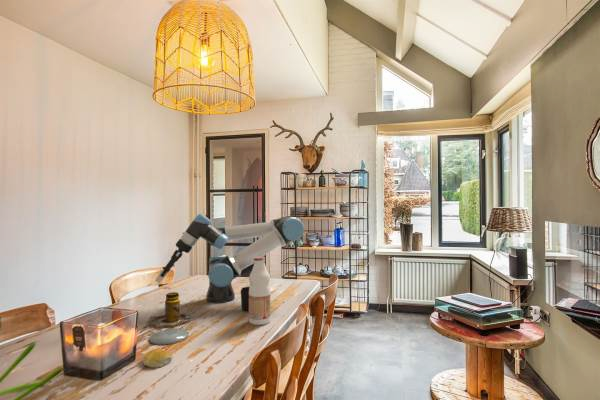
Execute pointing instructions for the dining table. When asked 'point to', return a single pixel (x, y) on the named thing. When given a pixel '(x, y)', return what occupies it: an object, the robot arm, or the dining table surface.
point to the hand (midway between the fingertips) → (159, 279)
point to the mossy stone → (157, 358)
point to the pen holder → (245, 299)
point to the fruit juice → (259, 293)
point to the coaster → (168, 336)
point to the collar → (152, 323)
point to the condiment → (171, 309)
